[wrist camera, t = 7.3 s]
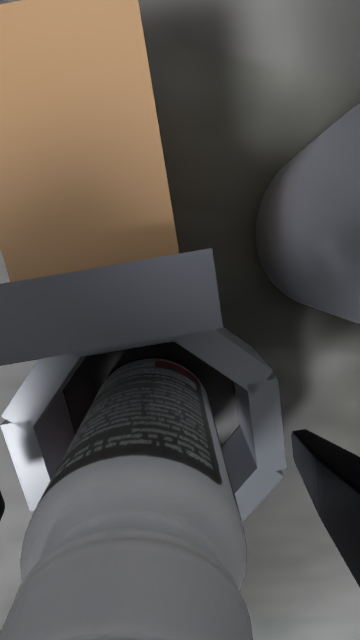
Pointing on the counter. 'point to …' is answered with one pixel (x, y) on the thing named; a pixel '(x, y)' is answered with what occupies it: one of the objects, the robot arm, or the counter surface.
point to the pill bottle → (137, 522)
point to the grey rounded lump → (316, 222)
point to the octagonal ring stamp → (102, 238)
